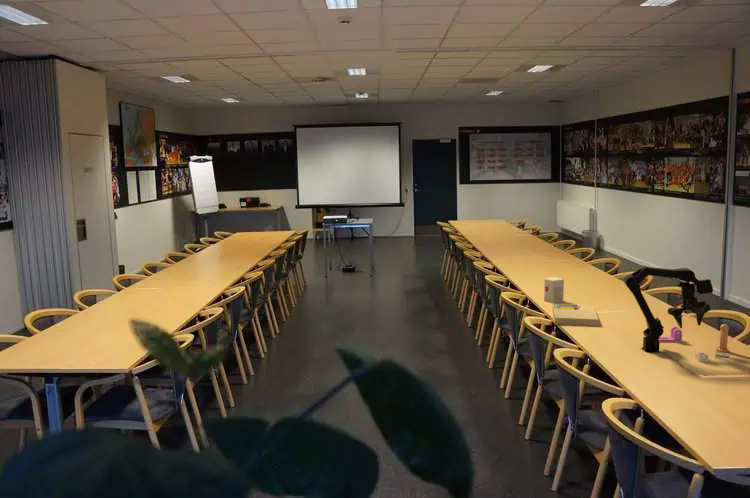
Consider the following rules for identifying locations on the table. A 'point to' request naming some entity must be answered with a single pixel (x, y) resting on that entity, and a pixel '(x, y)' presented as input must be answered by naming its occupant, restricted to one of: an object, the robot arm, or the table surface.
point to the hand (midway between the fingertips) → (690, 326)
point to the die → (701, 357)
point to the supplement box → (553, 290)
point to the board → (722, 356)
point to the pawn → (723, 338)
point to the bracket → (673, 336)
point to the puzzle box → (575, 314)
